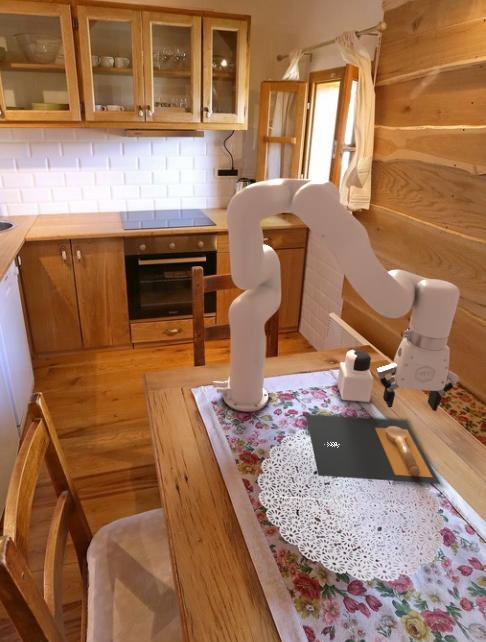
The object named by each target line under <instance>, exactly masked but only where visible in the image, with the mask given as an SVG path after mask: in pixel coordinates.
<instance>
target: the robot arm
mask: <svg viewBox="0 0 486 642" xmlns="http://www.w3.org/2000/svg"><path fill="white" fill-rule="evenodd" d="M281 213H285V214H296V216H297V217H298V218H299V219H300V220H301V221H302V222H303V223H304V224H305V225H306V227H307V228H309V230H310V231H311V232H312V233H313V234H314V235H315V236H316V237H317V239H319V240H320V241H321V242H322V244H323V245H324V246H325V247H326V249H328V250H329V251H330V253H331V254H332V255H333V256H334V258H335V260H336V262H337V264H338V265H339V268H340V270H341V271H342V273H343V274H344V276H345V278H346V280H347V282H348V283H349V285H351V288H352V289H354V291H355V293H357V295H359V296H360V298H361V299H363V301H364V302H365V303H366V304H367V305H368V307H370V308H371V309H372V310H373V311H374V312H376V313H377V314H379V315H380V316H382V317H384V318H387V319H399V318H402V317H404V316H406V315H407V314H408V313H409V312H410V310H411V309H412V311H411V316H410V320H409V324H408V325H407V330H401V331H400V337H401V338H402V340H401V342H400V344H399V346H398V347H397V351H396V353H395V355H394V358H393V363H390V364H388V365H385V366H382V367H379V368H376V369H375V371H376V374H377V377H378V379H379V382H380V383H381V385H382V386H383V387H384V391H383V395H382V399H383V401H384V402H385V403H386V405H387V407H388V408H392V407H393V405H394V400H395V396H396V392H395V390H397V389H398V388H401V389H406V390H416V391H417V390H418V391H429V395H428V398H427V404H428V406H429V407H430V408H431V410H432V411H433V412H437V411H438V407H439V406H440V404H441V401H442V397H445V395H446V393H447V392H449V391H451V390H453V388H454V386H455V385H456V384H457V383H459V381H460V377H459V376H458V375H457V374H456V373H455V372H453V371H451V370H449V368H450V356H451V355H450V354H451V353H450V351H451V350H450V347H449V346H448V345H447V343H448V340H449V337H450V332H451V329H452V326H453V322H454V318H455V314H456V310H457V307H458V304H459V299H460V297H461V296H460V294H461V292H460V289H459V287H458V286H456V285H455V284H454V283H451V282H449V281H446V280H443V279H436V278H427V277H424V276H421V275H419V274H416V273H413V272H410V271H407V270H404V269H392V270H389V271H388V270H387V269H386V268H385V267H384V266H383V264H382V263H381V262H380V261H379V259H378V258H377V256H376V254H375V252H374V251H373V250H374V249H372V245H371V241H370V237H369V235H368V234H369V233H368V231H367V229H366V228H365V226H364V225H363V224H362V223H361V222H360V221H359V220H358V219H357V218H356V217H355V216H354V215H353V213H351V212H350V211H349V210H348V209H347V208H346V207H345V206H344V205H343V204H342V203H341V193H340V190H339V188H338V186H336V184H334V182H332V181H330V180H328V179H319V178H318V179H316V178H315V179H313V178H312V179H311V178H310V179H309V178H307V179H306V178H305V179H304V178H272V179H268V180H262V181H257V182H254V183H251V184H249V185H247V186H244V187H242V188H241V189H239V191H237V192H236V193H235V194H233V196H232V197H231V199H230V201H229V203H228V205H227V208H226V225H227V231H228V248H229V265H230V267H229V268H230V275H231V280H232V282H233V284H234V285H235V287H237V288H238V289H240V290H242V291H243V292H242V293H240V294H239V295H238V296H237V297H235V298H234V300H233V301H232V303H231V304H230V306H229V309H228V313H227V314H228V315H227V317H228V324H229V330H230V343H229V344H230V346H229V374H228V375H229V376H228V379H227V380H224V381H219V380H213V383H212V388H213V389H216V393H219V394H222V398H223V401H224V402H225V404H226V405H227V406H228V407H230V408H231V409H234V410H235V411H240V412H246V413H247V412H255V411H259V410H261V409H264V407H265V406H266V405H267V404H268V402H269V392H268V391H267V389H266V388H264V382H265V368H266V355H267V353H266V352H267V336H266V332H265V331H266V330H265V326H266V323H267V321H268V320H269V319H271V317H272V316H273V315H275V314H276V312H277V311H278V310H279V308H280V306H281V301H282V279H281V275H282V274H281V262H280V258H279V256H278V254H277V252H276V251H275V250H274V249H273V248H272V247H270V246H269V245H266V244H264V232H263V229H262V226H261V222H262V221H263V220H265V219H269V218H271V217H273V216H276V215H278V214H281ZM389 374H390V376H389V377H388V378H387V377H386V376H387V375H389Z"/></svg>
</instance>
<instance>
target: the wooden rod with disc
mask: <svg viewBox="0 0 486 642" xmlns="http://www.w3.org/2000/svg"><path fill="white" fill-rule="evenodd" d="M406 436H407V435H406V433H405V431H404V430H402V429H401V428H399V427H396V426H390V427H388V428H387V429H386V437H387V438H388V439H389V440H390V441H391V442H394V443H396V445H397V447H398V449H399V451H400V453H401V455H402V457H403V459H404V461H405V464H406V466H407V468H408V470H409V472H410V474H411V475H413V476H418V475H419V474H420V469H419V467H418V465H417V463H416V461H415V459H414V457H413V455H412V453H411V451H410V449H409V447H408V446H407V444H406V442H405V441H406Z"/></svg>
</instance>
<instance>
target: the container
mask: <svg viewBox="0 0 486 642" xmlns="http://www.w3.org/2000/svg"><path fill="white" fill-rule="evenodd" d="M371 360H372V357H371V356H370V354H369V353H367V352H366V351H363V350H361V349H351V350H349V351H347V352H346V355H345V361H344V362H340V363H339V369H338V375H337V376H338V377H337V382H336V383H337V387H338V391H339V394H340V395H339V396H340V398H341V400H342V401H352V402H354V401H355V402H364V403H365V402H366V403H367V402H368V403H369V402H370V401H371V397H372V396H371V395H372V391H373V386H374V377H373V375H372V373H371V370H370V367H371V362H372V361H371Z"/></svg>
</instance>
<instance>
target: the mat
mask: <svg viewBox="0 0 486 642" xmlns="http://www.w3.org/2000/svg"><path fill="white" fill-rule="evenodd" d="M305 419H306V423H307V427H308V432H309V437H310V443H311V446H312V452H313V456H314V460H315V466H316V471H317V475H318V476H319V477H320V476H321V477H335V478H350V479H366V480H378V481H379V480H380V481H395V482H408V483H409V482H411V483H424V484H436V485H437V484H438V485H439V484H441V482H440V480H439V479H438V477H437V475H436V473H435V471H434V469H433V468H432V466H431V464H430V462H429V460H428V459H427V456H426V455H425V453H424V451H423V449H422V447H421V445H420V444H419V442H418V440H417V439H416V436H415V434H414V433H413V431H412V429H411V427H410V425H409V424H408V421H407V420H402V419H384V418H365V417H352V416H351V417H349V416H336V415H335V416H333V415H320V414H319V415H317V414H316V415H315V414H305ZM390 426H396V427H399V428H401V429H402V430H404V431H405V433H406V435H407V436H406V441H405V442H406V444H407V446H408V447H409V449H410V451H411V453H412V455H413V457H414V459H415V461H416V463H417V465H418V467H419V469H420V474H419V475H418V476H413V475H411V474H410V472H409V470H408V468H407V466H406V464H405V461H404V459H403V457H402V455H401V453H400V451H399V449H398V447H397V445H396V443H394V442H391V441H390V440H389V439H388V438H387V437H386V429H387V428H388V427H390ZM327 442H328V443H329V444H330V445H331V443H332V442H334V443H335V442H337V445H338V444H340V445H338V446H339V447H338V446H335V447H334V446H333V445H334V443H332V444H333V445H332V446H333V447H332V446H330V445H329V444H328V443H327ZM330 442H331V443H330ZM324 444H325V445H324ZM327 444H328V445H329V446H328V445H327ZM335 444H336V443H335ZM327 446H328V447H327ZM337 447H338V448H337Z"/></svg>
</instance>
